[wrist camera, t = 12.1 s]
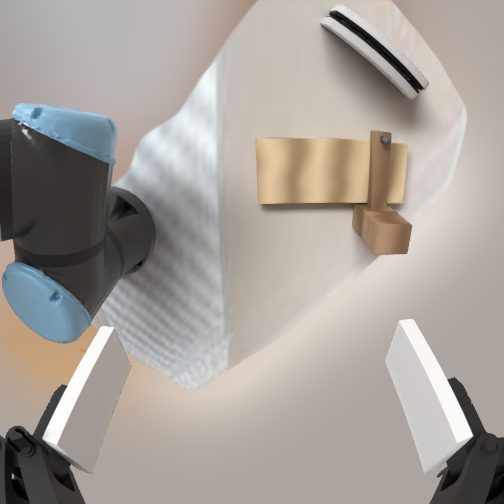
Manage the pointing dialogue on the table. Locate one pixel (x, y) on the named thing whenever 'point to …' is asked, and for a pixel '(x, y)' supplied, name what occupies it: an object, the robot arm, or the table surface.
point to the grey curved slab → (386, 62)
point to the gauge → (380, 205)
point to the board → (322, 170)
